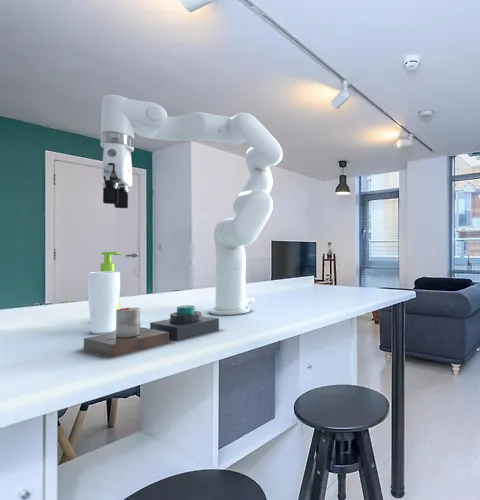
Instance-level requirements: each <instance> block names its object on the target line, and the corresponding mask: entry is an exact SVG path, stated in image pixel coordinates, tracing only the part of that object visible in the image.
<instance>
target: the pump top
mask: <svg viewBox="0 0 480 500" xmlns="http://www.w3.org/2000/svg"><path fill="white" fill-rule="evenodd" d="M195 308H196V306H195V305H192V304H191V305H189V304H187V305H179V306H178V305H177V307H176V312H177V315H190V314H195V311H196V309H195Z"/></svg>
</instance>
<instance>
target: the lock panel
mask: <svg viewBox="0 0 480 500" xmlns="http://www.w3.org/2000/svg"><path fill="white" fill-rule="evenodd" d="M169 343H170V340H169V332H165V331H160V330H154V329H150V327H149V328H147V327H141V326H140V334H139V335H137V336H132V337H116V331H113V332H109V333H103V334H99V335H94V336H89V337H84V338H83V351H84V352H88V353H92V354H95V355H100V356H104V357H106V358H115V357H121V356H124V355H127V354H131V353H136V352H139V351H143V350H147V349H151V348H156V347H159V346H163V345H167V344H169Z"/></svg>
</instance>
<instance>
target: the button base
mask: <svg viewBox="0 0 480 500" xmlns="http://www.w3.org/2000/svg"><path fill="white" fill-rule="evenodd" d="M149 329H154V330H160V331H165V332H169V341H175V342H179V341H183V340H187V339H191V338H194V337H195V338H196V337H199V336H202V335H207V334H211V333H214V332H218V331H220V318H219V317H211V316H203V315H202V312H201V311H198V310H195V314H190V315H177V311H174V312H172V313H170V314H169V319H168V318H167V319H162V320H158V321H157V320H156V321H151V322H149Z"/></svg>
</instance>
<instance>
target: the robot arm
mask: <svg viewBox="0 0 480 500" xmlns="http://www.w3.org/2000/svg"><path fill="white" fill-rule="evenodd" d="M100 105H101V107H100V108H101V109H100V147H101V148H102V149H103V151H102V167H101V170H102V179H103V183H102V186H103V187H102V203H103V204H107V205H108V204H110V205H113V206H114V208H116V209H128V208H129V188H132V186H133V164H132V163H133V162H132V153H133V152H134V151H135V133H136V135H138V136H140V137H143V138H147V139H154V140H160V141H161V140H162V141H171V142H172V141H175V142H176V141H177V142H178V141H189V142H192V141H195V142H196V141H201V142H210V143H211V142H212V143H220V144H228V145H242V144H244V143H246V142H247V143H248V145H249V146H250V147H249V148H248V149H247V150H246V152H245V164H246V166H247V169H248V172H249V176H248V178H247V181H246V182H245V184H244V186H243V187H242V189H241V190H240V192H239V194H238V195H237V197H236V198H235V200H234V201H233V205H232V206H233V207H232V211H233V213H234V214H235V216H232V217H227V218H223V219H221V220H220V221H218V223H217V224H216V225H215V226H214V227H215V228H214V230H213V240H214V249H215V301H214V303H215V305H214V306H215V307H212V308H211V309H210V312H209V313H210V314H211V315H219V316H232V315H233V316H234V315H241V314H246V313H249V312H250V311H251V308H250V306H249V304H254V303H255V302H256V299H255V297H249V298H248V297H247V296H246V279H247V278H246V276H247V275H246V268H247V258H246V256H247V255H246V250H245V247H246V246H250V245H252V244H253V243H254V242H255V241H256V240H257V239H258V237H259V236H260V234H261V232H262V231H263V229H264V227H265V226H266V224H267V222H268V220H269V219H270V216H271V215H272V212H273V209H274V201H273V199H272V195H270V193H271V191H272V188H273V183H274V181H273V175H272V172H271V169H270V167H274V166H276V165H278V164H279V163H280V162H281V161H282V159H283V155H284V154H283V149H282V147H281V145H280V143H279V142H278V140H277V139H276V138H275V137H274V136H273V135H272V134H271V133H270V132H269V131H268V129H267V128H266V127H265V126H264V125H263V124H262V123H261V121H259V120H258V119H257V118H256V117H254V116H253V115H252V114H250V113H248V112H244V111H242V112H241V111H240V112H238V113H237V114H236V115H234V116H231V117H230V116H224V115H218V114H212V113H207V112H202V111H197V112H191V113H188V114H184V115H176V116H168V113H167V111H166V109H165V108H164V107H163V106H161V104H159V103H155V102H152V101H147V100H137V99H130V98H127V97H125V96H123V95H119V94H112V93H111V94H105V95H104V96H102V98H101V104H100Z"/></svg>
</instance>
